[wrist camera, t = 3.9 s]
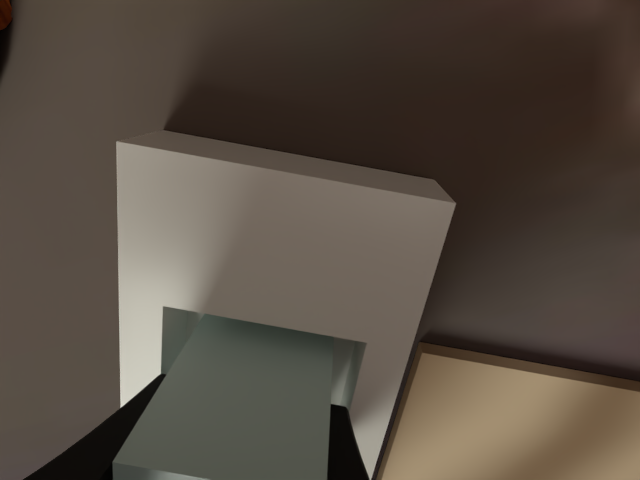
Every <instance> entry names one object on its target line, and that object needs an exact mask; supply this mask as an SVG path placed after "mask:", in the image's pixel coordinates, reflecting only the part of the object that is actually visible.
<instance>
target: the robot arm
mask: <svg viewBox="0 0 640 480" xmlns="http://www.w3.org/2000/svg"><path fill="white" fill-rule="evenodd" d="M166 375H167V374H160V375H158V376H157V377H156V378H155V379H154V380H153V381H151V382H150V383H149V384H148V385H147V386H146V387H145V388H143V389H142V390H141V391H140V392H139V393H138V394H137V395H135V396H134V397H133V398H132V399H131V400H129V401H128V402H127V403H126V404H125V405H124V406H122V407H121V408H120V409H119V410H118V411H116V412H115V413H114V414H113V415H111V416H110V417H109V418H108V419H106V420H105V421H104V422H103V423H101V424H100V425H99V426H98V427H96V428H95V429H94V430H93V431H91V432H90V433H89V434H87V435H86V436H85V437H83V438H82V439H81V440H79V441H78V442H77V443H75V444H74V445H72V446H71V447H70V448H68V449H67V450H66V451H64V452H63V453H62V454H60V455H59V456H57V457H56V458H55V459H53V460H52V461H50V462H49V463H47V464H46V465H44V466H43V467H41V468H40V469H38V470H37V471H35V472H34V473H32V474H31V475H29V476H28V477H26V478H25V479H23V480H113V463H112V462H113V460H114V459H115V457H116V456H117V454H118V452H119V451H120V449H121V447H122V446H123V444H124V443H125V441H126V439H127V438H128V436H129V435H130V433H131V431H132V430H133V428H134V426H135V425H136V423H137V422H138V420H139V418H140V417H141V415H142V414H143V412H144V410H145V409H146V407H147V405H148V404H149V402H150V401H151V399H152V397H153V396H154V394H155V393H156V391H157V389H158V388H159V386H160V384H161V383H162V381H163V380H164V378H165V376H166ZM327 480H370V479H369V476H368V473H367V471H366V468H365V465H364V463H363V460H362V457H361V454H360V451H359V448H358V445H357V442H356V438H355V435H354V431H353V428H352V424H351V420H350V415H349V410H348V409H347V408H346V407H345V406H340V405H334V404H331V407H330V427H329V448H328V468H327Z"/></svg>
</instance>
